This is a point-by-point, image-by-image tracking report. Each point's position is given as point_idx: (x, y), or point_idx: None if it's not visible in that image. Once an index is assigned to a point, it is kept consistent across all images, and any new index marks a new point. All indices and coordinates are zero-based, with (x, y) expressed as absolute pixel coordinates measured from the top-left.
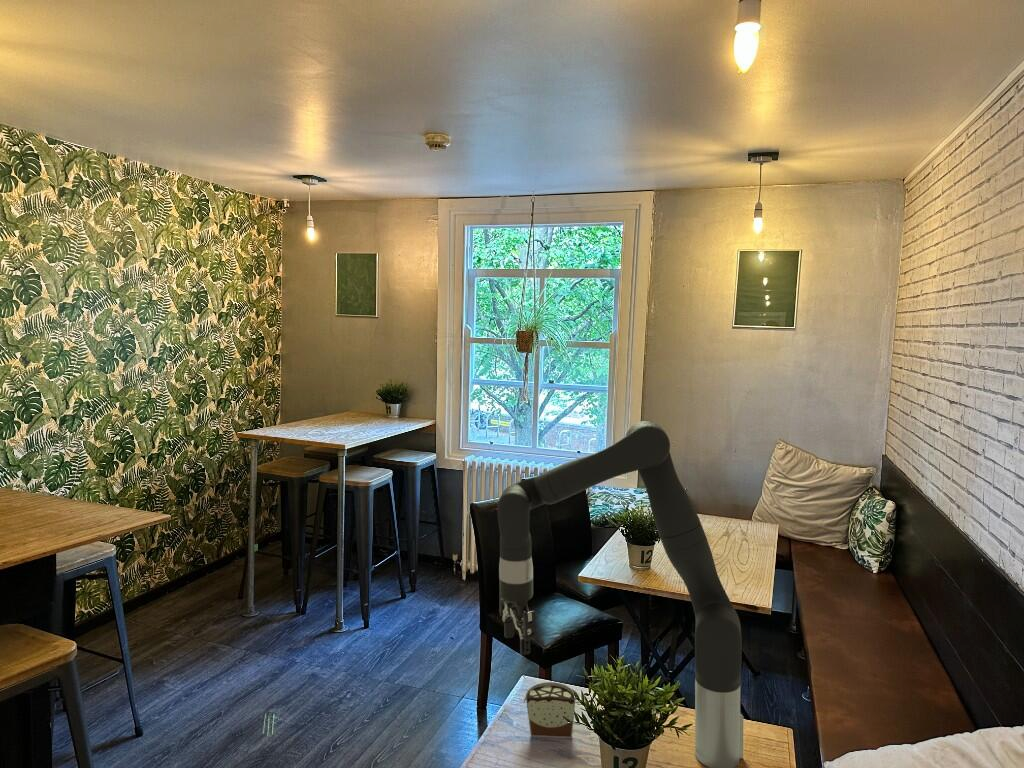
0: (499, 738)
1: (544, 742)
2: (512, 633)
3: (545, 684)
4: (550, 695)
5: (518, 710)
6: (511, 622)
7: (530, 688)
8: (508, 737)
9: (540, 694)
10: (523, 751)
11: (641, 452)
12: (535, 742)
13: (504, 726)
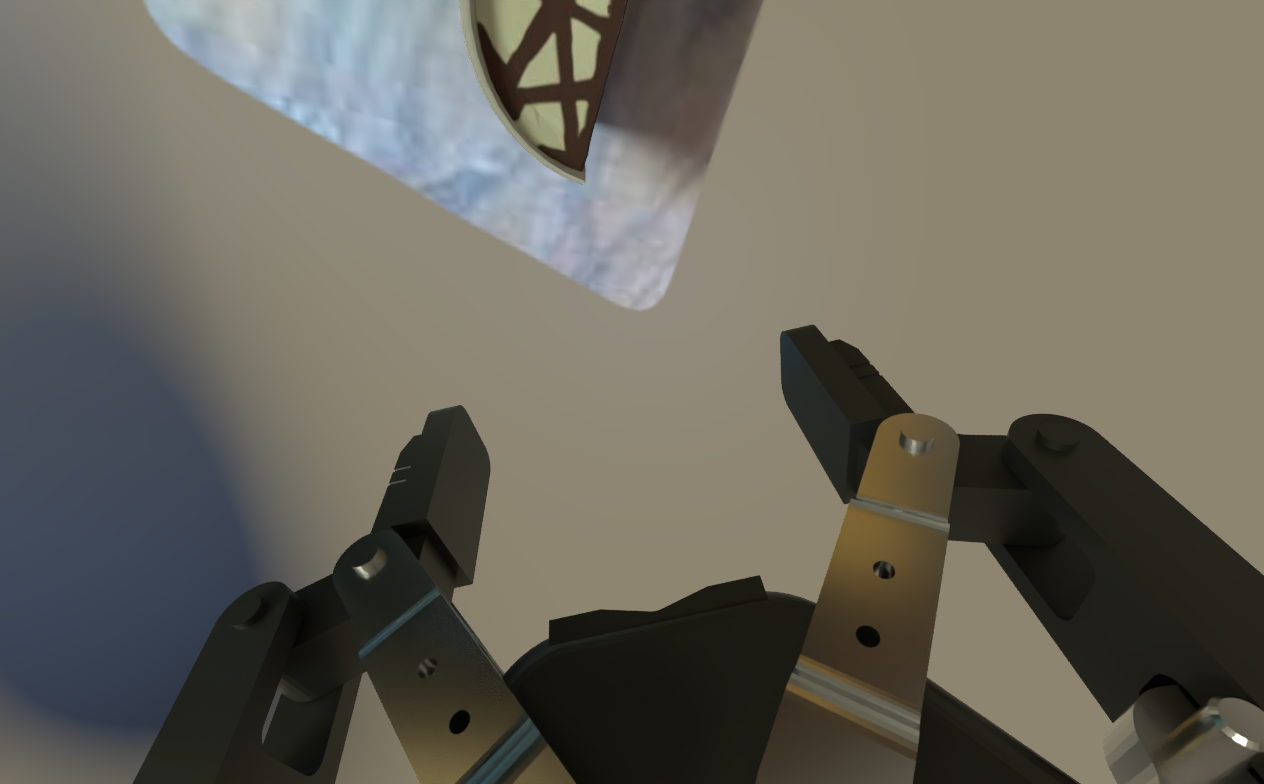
0: (572, 241)
1: (634, 66)
2: (460, 434)
3: (473, 14)
4: (599, 17)
5: (394, 128)
6: (444, 535)
7: (522, 139)
8: (572, 208)
9: (563, 80)
10: (663, 170)
11: None
12: (625, 108)
13: (504, 211)
